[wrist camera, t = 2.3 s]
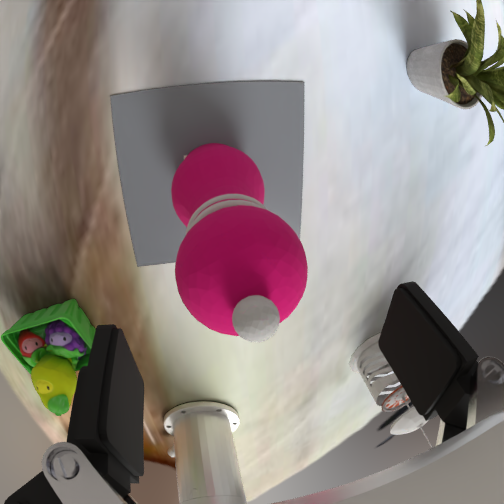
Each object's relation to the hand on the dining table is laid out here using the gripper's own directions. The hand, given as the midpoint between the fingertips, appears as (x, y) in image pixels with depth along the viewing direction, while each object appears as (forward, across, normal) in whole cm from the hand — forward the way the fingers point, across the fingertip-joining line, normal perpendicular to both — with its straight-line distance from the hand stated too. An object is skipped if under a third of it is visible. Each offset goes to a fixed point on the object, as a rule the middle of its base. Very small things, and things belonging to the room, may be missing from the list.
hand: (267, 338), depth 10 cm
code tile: (+21, 0, +1) cm, 21 cm away
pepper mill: (+21, 0, +1) cm, 21 cm away
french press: (+21, -24, +30) cm, 44 cm away
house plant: (+21, -24, -11) cm, 34 cm away
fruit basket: (+21, +21, +17) cm, 34 cm away
